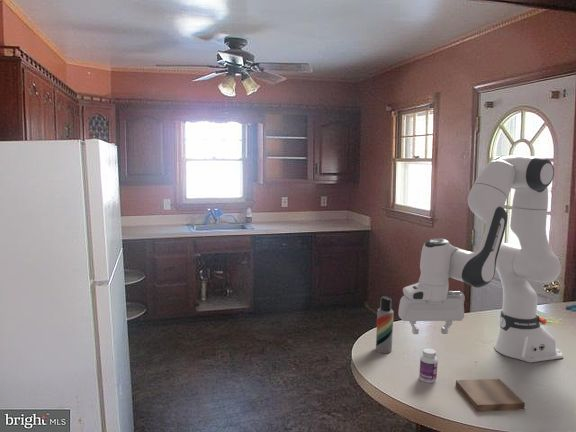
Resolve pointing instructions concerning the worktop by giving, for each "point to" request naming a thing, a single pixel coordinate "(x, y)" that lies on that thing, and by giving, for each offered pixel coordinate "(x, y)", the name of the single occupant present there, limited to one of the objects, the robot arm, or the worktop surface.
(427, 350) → the pill bottle
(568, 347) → the worktop surface
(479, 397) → the walnut board
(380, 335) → the lotion bottle
